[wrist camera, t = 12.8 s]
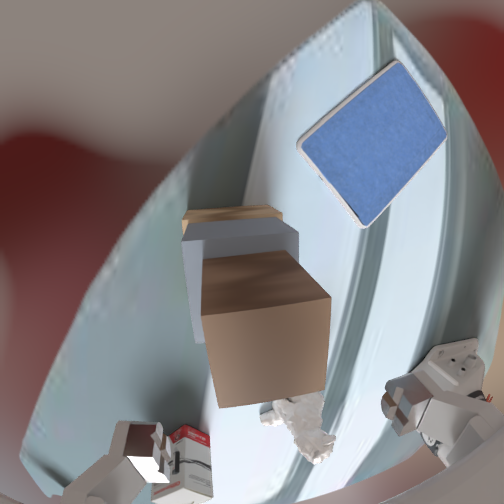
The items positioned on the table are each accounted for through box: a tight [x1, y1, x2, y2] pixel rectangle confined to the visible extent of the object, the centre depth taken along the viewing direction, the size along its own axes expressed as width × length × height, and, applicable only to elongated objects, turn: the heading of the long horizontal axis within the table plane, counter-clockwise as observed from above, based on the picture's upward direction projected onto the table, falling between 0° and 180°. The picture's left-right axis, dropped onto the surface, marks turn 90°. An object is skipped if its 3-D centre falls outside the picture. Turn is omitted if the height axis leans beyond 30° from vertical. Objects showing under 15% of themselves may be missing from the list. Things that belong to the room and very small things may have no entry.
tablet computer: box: [296, 61, 447, 229], centre depth 28 cm, size 19×13×1 cm, turn 133°
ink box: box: [151, 424, 213, 504], centre depth 31 cm, size 8×5×12 cm, turn 136°
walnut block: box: [201, 250, 331, 408], centre depth 14 cm, size 5×5×7 cm
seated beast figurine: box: [260, 391, 336, 464], centre depth 30 cm, size 10×9×12 cm
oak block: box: [182, 205, 283, 235], centre depth 26 cm, size 8×8×6 cm
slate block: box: [181, 217, 299, 343], centre depth 21 cm, size 7×7×6 cm
